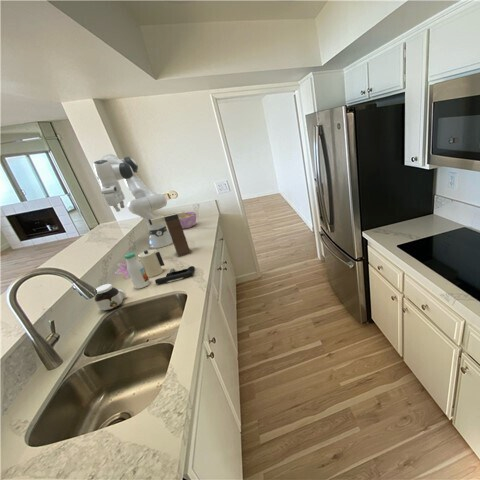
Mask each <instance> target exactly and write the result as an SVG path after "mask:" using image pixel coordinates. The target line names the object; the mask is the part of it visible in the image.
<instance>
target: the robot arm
mask: <svg viewBox="0 0 480 480" xmlns="http://www.w3.org/2000/svg"><path fill="white" fill-rule="evenodd" d="M92 165H93V168H94V174H95V177H96V179H97V180H99V183H100V186H101V189H100V192H101V194H102V195H103V197H104V200H105V202H106V203H107V205H108V206H109V207H113V209H114V210H115V212H116V213H117V212H121V209H125V207H126V206H125V203H124V200H125V199H126V197H125V194H124V192H123V190H122V187H121V185H120V180H124V182H125V185H126V187H127V189H128V191H129V192H130V193H131V194H132V196H133V197H135V199H133V200H130V201H129V202H127V203H128V204H127V209H128V211H129V212H130V213H132V214H134V215H137V216H139V217H140V218H142V219H143V220H144V222H145V224H146V226H147V228H148V234H149V235H150V236H149V237H148V238H149V239H148V240H149V244H150V245H149V249H153V248H154V249H159V248H163V247H168V246H169V245H172V244H173V241H172V239H171V236H170V233H169V230H168V227H167V225H166V224H165V221H163V222H159V223H155V224H152V225H150V223H149V220H148V219H154V218H158V217H162V215H160V214H154V213H152V212H153V211H156V210H159V209H162V208H164V207H166V206H167V204H168V200H167V198H166V196H164V195H163V194H161V193H160V194H159V193H157V192H154V191H152V190H150V189H149V187H147V185H146V184H145V182H144V181H143V180H142V178H141V177H140V176H138V175H137V174H136V173H138V169H139V166H138V163H137V162H136V160H135V159H134V158H132V157H130V156H126V157H123V158H121V159H120V158H119V157H118V156H117V155H115V154H112V153H108V154H104V155H103V156H102V158H101V159H100V160H95V161H94V162H93V164H92Z"/></svg>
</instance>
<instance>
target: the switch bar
mask: <svg viewBox="0 0 480 480" xmlns="http://www.w3.org/2000/svg"><path fill="white" fill-rule="evenodd" d="M174 213H175V214H173V213H170V214H171V215H176V214H177V215H178V218H179V217H183V216H186V214H185V213H186V212H185V211H184V210H183V211H179V212H174ZM165 215H166V216H165ZM165 215H163V216H162V215H161V217H158V218H154V219H148V220H149V223H150V225H152V224H155V223H159V222H165V218H164V217H167V216H171V215H169V214H165Z"/></svg>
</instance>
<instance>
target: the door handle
mask: <svg viewBox="0 0 480 480" xmlns="http://www.w3.org/2000/svg"><path fill="white" fill-rule="evenodd" d="M194 271H195V266H193V265H191V266H188V267H187V268H185V269H180V270H175V268H171V269H170V270H169V272H168V273H166V274H165V276H163V277H160V278H157V279H156V278H155V279H154V282H155V284H156V285H160V284H164V283H168V284H169V283H173V282H175V281H179V280H183V279H185V278H188V277H192V276H194Z"/></svg>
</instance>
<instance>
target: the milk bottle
mask: <svg viewBox="0 0 480 480" xmlns="http://www.w3.org/2000/svg"><path fill="white" fill-rule="evenodd" d="M124 258H125V261H126V260H127V271H128V273H129V278H130V280H131V282H132V285H133V287H134V288H135V289H136V290H137V289H138V290H139V289H143V288H145V287H147V286H149V285H150V284H151V281H150V277H148V276H147V274H146V271H145V269H144V267H143V265H142V264H141V262H139V261H138V260H137V259H138V258H137V257H136V254H135V252H129V253H126V254H125V255H124Z"/></svg>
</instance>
